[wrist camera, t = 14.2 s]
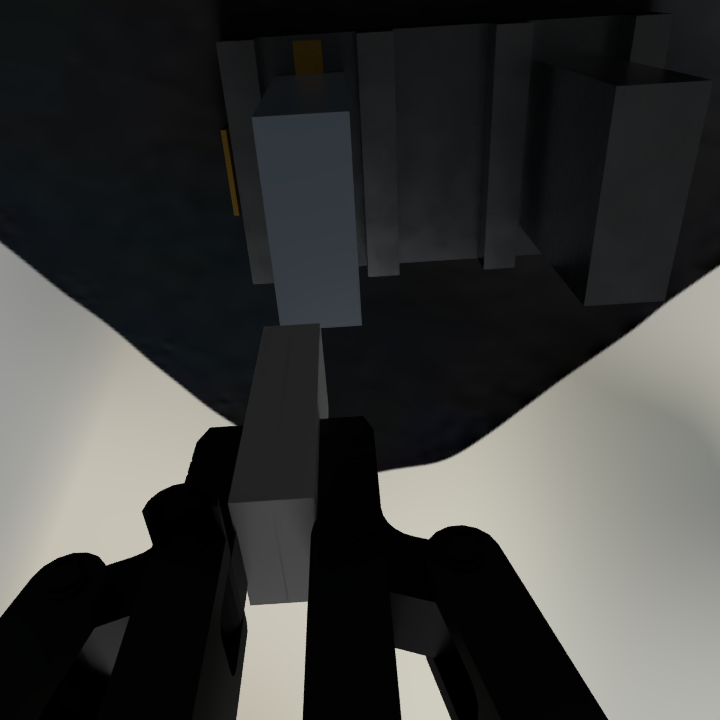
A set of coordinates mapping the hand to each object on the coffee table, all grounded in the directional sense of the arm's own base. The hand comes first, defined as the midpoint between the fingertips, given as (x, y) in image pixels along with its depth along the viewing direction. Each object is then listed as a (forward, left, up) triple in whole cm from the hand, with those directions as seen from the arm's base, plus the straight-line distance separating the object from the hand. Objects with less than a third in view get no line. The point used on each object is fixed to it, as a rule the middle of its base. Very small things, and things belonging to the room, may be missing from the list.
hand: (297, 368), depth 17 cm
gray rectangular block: (0, 0, -25) cm, 25 cm away
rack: (0, +8, -26) cm, 27 cm away
